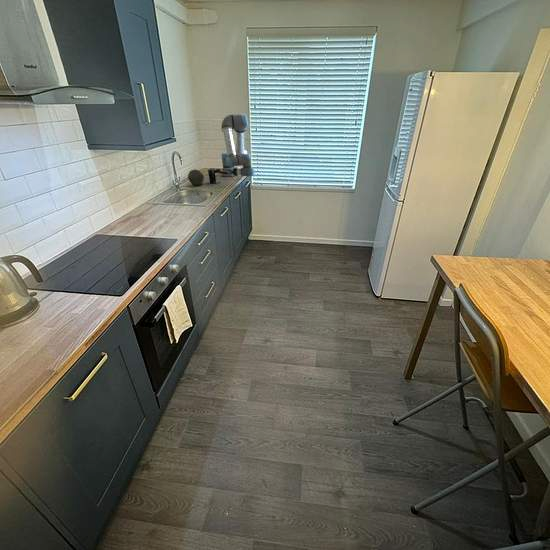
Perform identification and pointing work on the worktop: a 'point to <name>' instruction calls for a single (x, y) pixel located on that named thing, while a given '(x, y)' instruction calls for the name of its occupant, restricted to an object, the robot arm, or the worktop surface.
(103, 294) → the worktop surface
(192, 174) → the cantaloupe
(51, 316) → the worktop surface
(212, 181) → the switch bracket
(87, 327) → the worktop surface
